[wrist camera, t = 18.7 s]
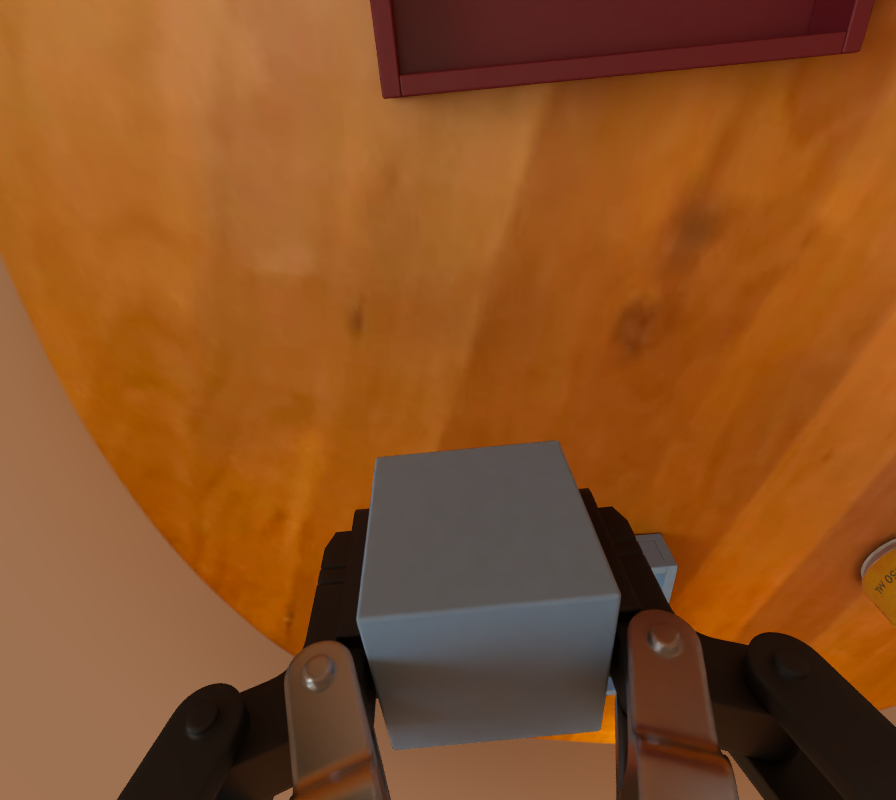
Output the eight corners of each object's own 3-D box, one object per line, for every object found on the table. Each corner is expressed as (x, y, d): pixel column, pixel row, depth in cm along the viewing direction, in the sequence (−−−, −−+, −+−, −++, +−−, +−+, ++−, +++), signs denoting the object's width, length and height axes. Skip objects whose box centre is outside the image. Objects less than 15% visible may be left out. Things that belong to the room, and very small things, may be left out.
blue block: (399, 578, 14) (392, 752, 11) (375, 456, 12) (354, 621, 8) (553, 564, 14) (602, 732, 11) (558, 438, 12) (624, 595, 8)
